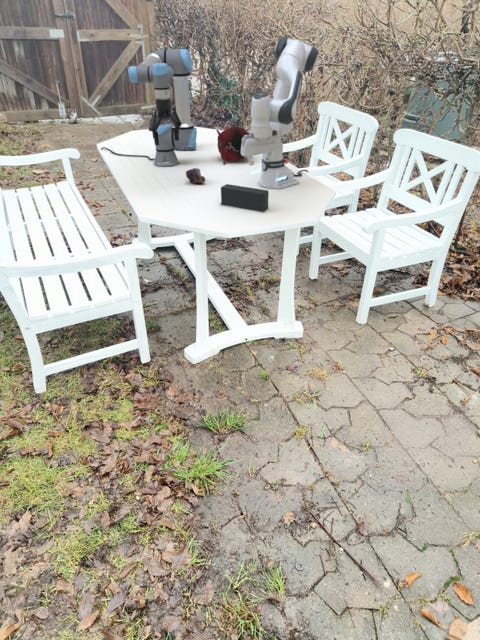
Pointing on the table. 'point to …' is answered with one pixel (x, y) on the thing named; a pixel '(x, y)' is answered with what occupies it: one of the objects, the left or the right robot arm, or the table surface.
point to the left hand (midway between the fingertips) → (167, 142)
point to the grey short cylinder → (186, 148)
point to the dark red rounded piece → (231, 143)
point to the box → (244, 197)
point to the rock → (195, 176)
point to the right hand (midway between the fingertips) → (259, 163)
